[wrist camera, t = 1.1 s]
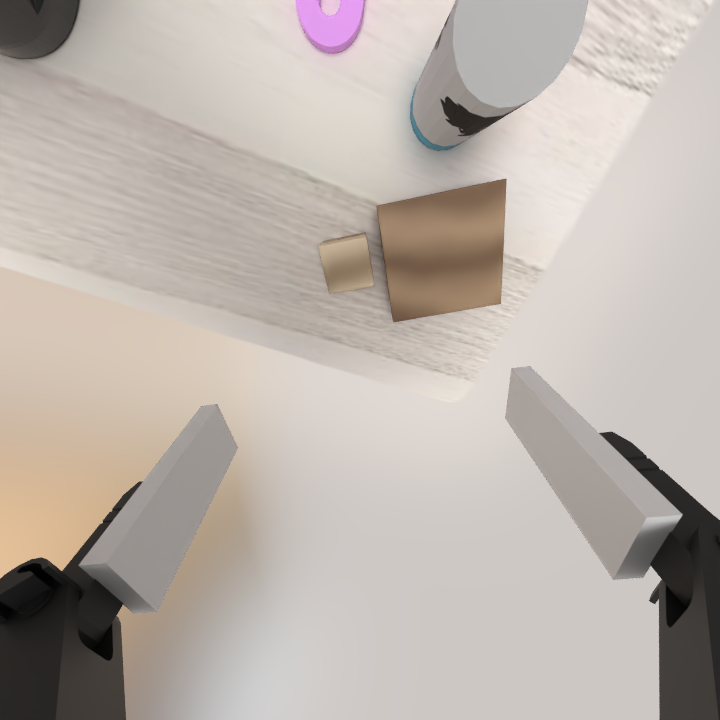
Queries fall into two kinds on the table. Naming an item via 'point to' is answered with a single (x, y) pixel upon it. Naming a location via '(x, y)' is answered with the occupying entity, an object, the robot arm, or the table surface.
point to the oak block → (346, 263)
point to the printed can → (491, 64)
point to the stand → (444, 250)
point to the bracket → (331, 24)
